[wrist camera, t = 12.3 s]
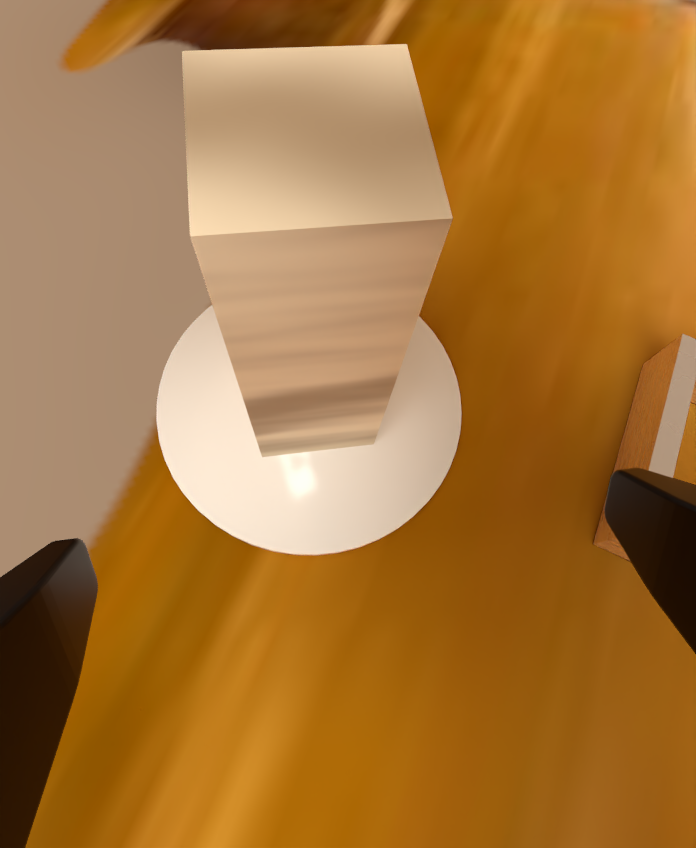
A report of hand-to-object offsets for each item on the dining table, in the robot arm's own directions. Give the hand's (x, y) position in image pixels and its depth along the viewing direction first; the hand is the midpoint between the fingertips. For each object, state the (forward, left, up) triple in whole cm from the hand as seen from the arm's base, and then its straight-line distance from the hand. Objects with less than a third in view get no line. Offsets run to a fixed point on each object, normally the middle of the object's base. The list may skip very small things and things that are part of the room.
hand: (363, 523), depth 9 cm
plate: (-1, +8, -14) cm, 16 cm away
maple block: (-1, +8, -13) cm, 15 cm away
